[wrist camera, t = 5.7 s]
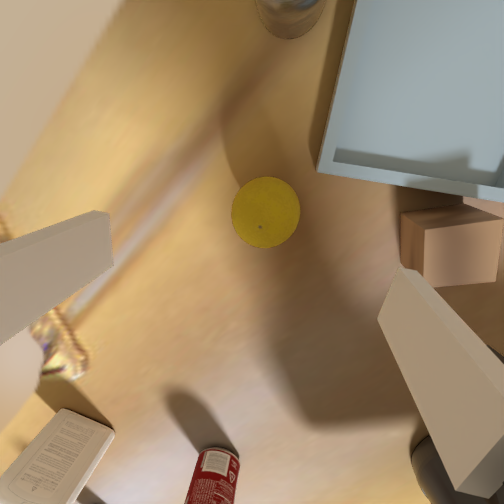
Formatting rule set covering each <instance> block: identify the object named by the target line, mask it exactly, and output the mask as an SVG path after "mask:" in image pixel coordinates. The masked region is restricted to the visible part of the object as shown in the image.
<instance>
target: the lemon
mask: <svg viewBox="0 0 504 504" xmlns="http://www.w3.org/2000/svg"><path fill="white" fill-rule="evenodd" d="M231 217H232V223H233V226H234V228H235V230H236V232H237V234H238V235H239V236H240V238H241V239H243V240H244V241H245V242H246V243H248V244H250V245H252V246H254V247H259V248H271V247H275V246H278V245H279V244H281V243H283V242H285V241H286V240H287V239H288V238H289V237H290V236H291V235H292V234H293V232H294V231H295V229H296V228H297V225H298V222H299V219H300V204H299V199H298V197H297V195H296V193H295V191H294V190H293V189H292V188H291V187H290V185H289V184H287V183H286V182H284V181H283V180H281V179H278V178H275V177H267V176H264V177H259V178H255V179H253V180H251V181H249V182H247V183H246V184H245V185H244V186H243V187H242V188H241V189H240V190H239V191H238V193H237V194H236V196H235V198H234V201H233V204H232V212H231Z"/></svg>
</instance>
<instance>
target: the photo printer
mask: <svg viewBox="0 0 504 504" xmlns="http://www.w3.org/2000/svg"><path fill="white" fill-rule="evenodd" d="M114 437H115V433H114V430H112V429H110V428H109V427H107V426H105V425H102V424H100V423H98V422H96V421H93V420H91V419H89V418H86V417H84V416H82V415H79V414H77V413H75V412H73V411H70V410H67V409H64V408H62V409H60V410H59V411H58V412H57V413H56V415H55V416H54V417H53V418H52V419H51V420H50V421H49V422H48V424H47V425H46V426H45V427H44V428H43V429H42V430H41V432H40V433H39V434H38V435H37V436H36V437H35V438H34V439H33V441H32V442H31V443H30V444H29V445H28V446H27V447H26V448H25V450H24V451H23V452H22V453H21V454H20V455H19V456H18V458H17V459H16V460H15V461H14V462H13V463H12V464H11V465H10V467H9V468H8V469H7V470H6V471H5V472H4V473H3V475H2V476H1V477H0V504H73V503H74V502H75V500H76V499H77V497H78V495H79V494H80V492H81V490H82V489H83V487H84V486H85V484H86V482H87V481H88V479H89V478H90V476H91V474H92V473H93V471H94V469H95V468H96V466H97V465H98V463H99V461H100V460H101V458H102V457H103V455H104V453H105V452H106V450H107V448H108V447H109V445H110V444H111V442H112V440H113V439H114Z"/></svg>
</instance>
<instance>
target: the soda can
mask: <svg viewBox="0 0 504 504" xmlns="http://www.w3.org/2000/svg"><path fill="white" fill-rule="evenodd" d="M239 471H240V462H239V460H238V458H237V457H236V456H235V455H234V454H233V453H232V452H230V451H229V450H227V449H225V448H221V447H211V448H207V449H204V450H203V451H201V452H200V454H199V457H198V460H197V463H196V467H195V470H194V473H193V477H192V480H191V483H190V487H189V490H188V493H187V497H186V500H185V503H184V504H234V501H235V495H236V489H237V483H238V477H239Z"/></svg>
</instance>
